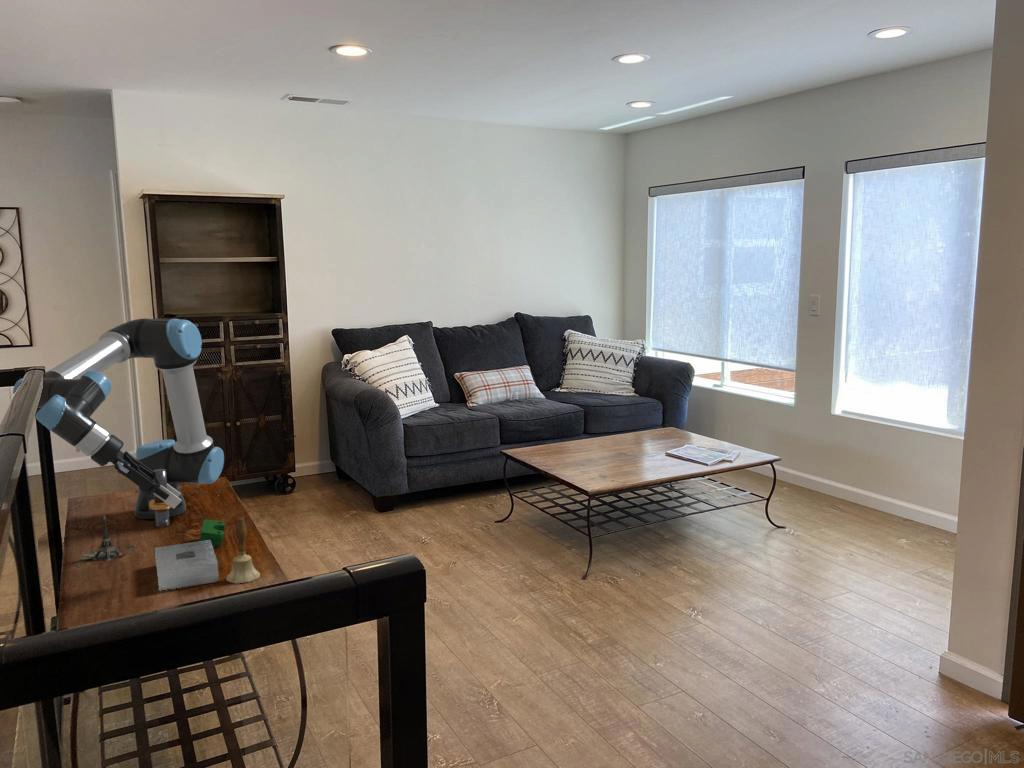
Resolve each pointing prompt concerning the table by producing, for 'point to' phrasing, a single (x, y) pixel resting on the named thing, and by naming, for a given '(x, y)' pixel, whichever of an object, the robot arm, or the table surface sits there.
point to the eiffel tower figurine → (104, 548)
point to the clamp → (212, 532)
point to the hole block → (186, 565)
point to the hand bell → (242, 560)
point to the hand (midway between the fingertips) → (177, 500)
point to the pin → (157, 503)
